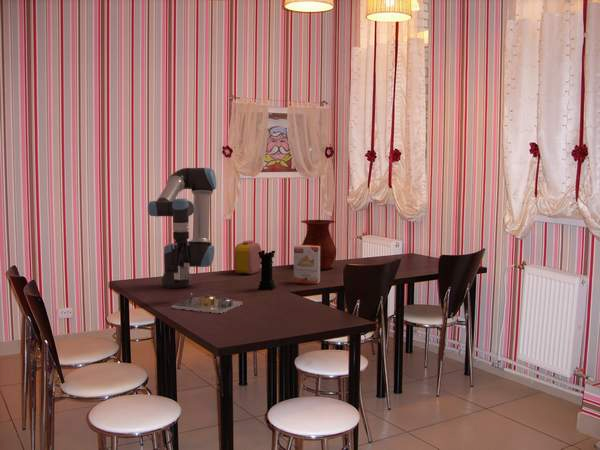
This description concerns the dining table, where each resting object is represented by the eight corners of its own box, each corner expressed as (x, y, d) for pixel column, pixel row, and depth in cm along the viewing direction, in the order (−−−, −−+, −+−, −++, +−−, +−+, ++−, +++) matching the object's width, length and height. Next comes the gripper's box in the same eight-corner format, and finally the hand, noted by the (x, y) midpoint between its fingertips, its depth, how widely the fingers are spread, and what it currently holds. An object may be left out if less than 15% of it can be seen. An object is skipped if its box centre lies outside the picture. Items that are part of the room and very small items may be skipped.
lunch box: (245, 270, 406) (245, 239, 405) (262, 271, 403) (262, 240, 401) (233, 275, 389) (233, 242, 387) (250, 276, 386) (250, 243, 384)
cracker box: (293, 283, 363) (293, 246, 361) (296, 281, 369) (296, 244, 367) (318, 284, 360) (318, 246, 358) (320, 282, 366) (320, 245, 364)
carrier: (171, 308, 301) (171, 296, 300) (195, 300, 319) (195, 288, 318) (220, 313, 290) (220, 301, 290) (242, 304, 308) (242, 293, 308)
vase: (334, 265, 427) (334, 219, 424) (338, 271, 403) (339, 222, 401) (298, 265, 425) (298, 219, 422) (300, 271, 402) (301, 223, 399)
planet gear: (171, 279, 314) (170, 268, 314) (179, 276, 321) (179, 266, 321) (184, 280, 311) (184, 270, 311) (193, 277, 318) (192, 267, 318)
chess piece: (272, 290, 343) (272, 252, 341) (257, 289, 345) (257, 252, 343) (275, 287, 351) (275, 250, 349) (261, 286, 352) (261, 250, 350)
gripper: (175, 233, 303) (176, 282, 306) (199, 228, 322) (200, 274, 324) (161, 233, 306) (163, 281, 309) (186, 228, 325) (187, 273, 327)
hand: (182, 277), depth 316 cm, fingers closed on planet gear, 8 cm apart
